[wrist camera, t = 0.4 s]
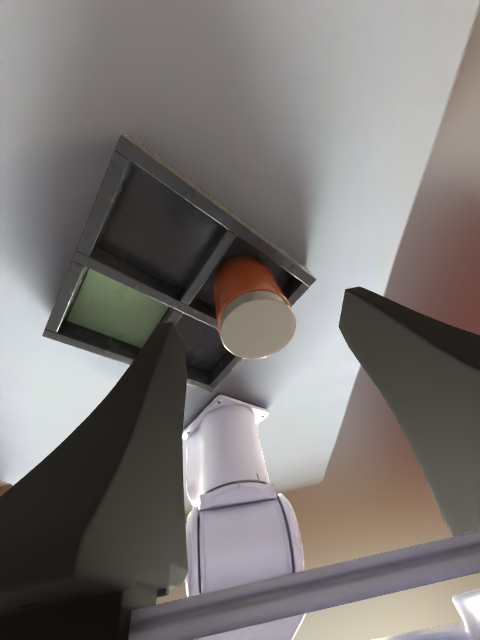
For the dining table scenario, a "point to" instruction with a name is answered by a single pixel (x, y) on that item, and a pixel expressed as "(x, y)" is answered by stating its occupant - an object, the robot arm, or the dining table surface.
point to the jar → (251, 308)
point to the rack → (158, 266)
